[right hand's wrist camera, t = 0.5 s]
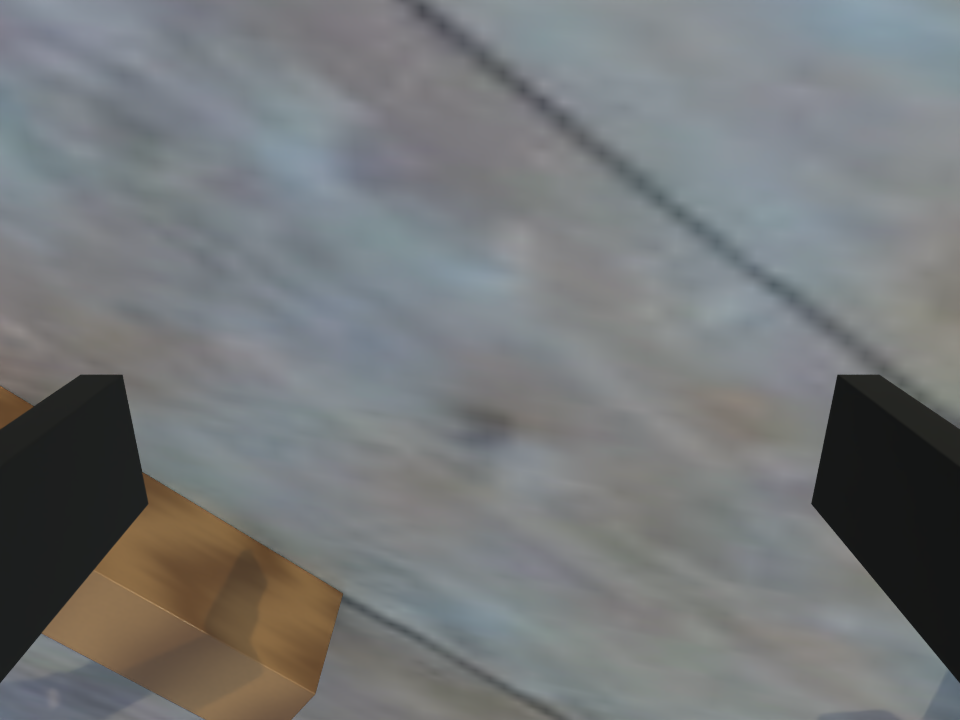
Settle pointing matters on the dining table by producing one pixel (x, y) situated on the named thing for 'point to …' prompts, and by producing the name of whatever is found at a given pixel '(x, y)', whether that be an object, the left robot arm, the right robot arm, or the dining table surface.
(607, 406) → the dining table surface
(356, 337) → the dining table surface
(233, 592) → the beam
